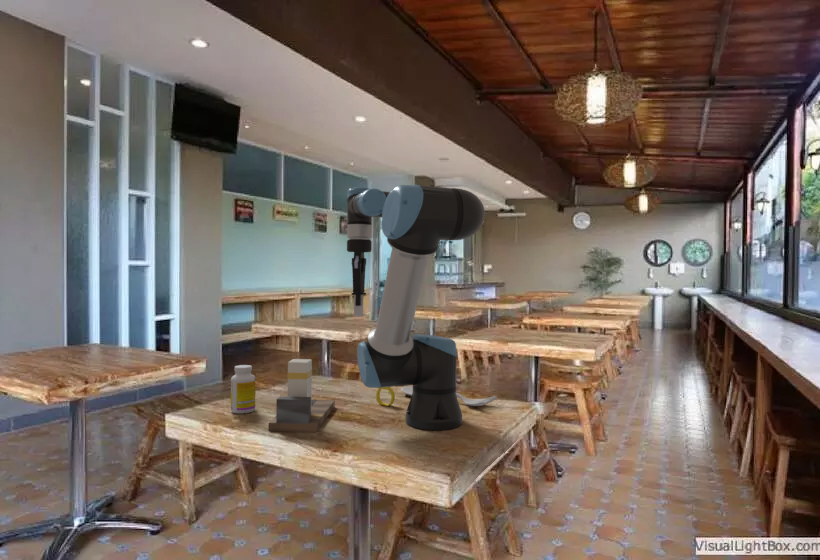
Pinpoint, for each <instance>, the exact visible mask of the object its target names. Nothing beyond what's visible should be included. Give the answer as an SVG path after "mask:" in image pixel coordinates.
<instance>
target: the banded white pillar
mask: <svg viewBox="0 0 820 560" xmlns="http://www.w3.org/2000/svg"><path fill="white" fill-rule="evenodd" d="M312 361H313V359H310V358H309V359H308V358H307V359H306V358H293V359H291V360H289V361H288V362H287V373H286V374H287V377H286V378H287V397H311V398H312V385H313V384H312V383H313V381H312V376H313V369H312V365H313V364H312V363H313V362H312Z"/></svg>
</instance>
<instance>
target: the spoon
mask: <svg viewBox="0 0 820 560" xmlns="http://www.w3.org/2000/svg"><path fill="white" fill-rule="evenodd" d="M400 390H401V392H402V393H404V394H405V395H408V396H410V397H411V396H412V393H413V385H404V386H402V387H401V388H400ZM456 396H457V399H460V400H461V401H462V402H464V404H466V405H468V406H470V407H481V406H485V405H488V404H491V403H492V402H494V401H496V400H497V399H498V396H495V395H493V396H490V397H486V398H476V399H471V398H467V397H465V396H464V395H462V394H460V393H458V392H456Z"/></svg>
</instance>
